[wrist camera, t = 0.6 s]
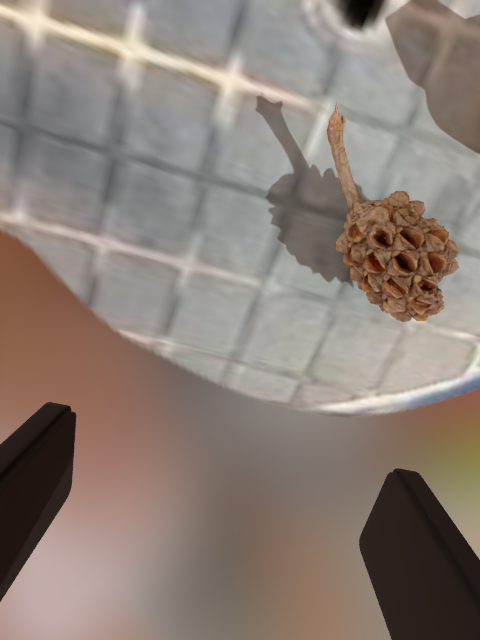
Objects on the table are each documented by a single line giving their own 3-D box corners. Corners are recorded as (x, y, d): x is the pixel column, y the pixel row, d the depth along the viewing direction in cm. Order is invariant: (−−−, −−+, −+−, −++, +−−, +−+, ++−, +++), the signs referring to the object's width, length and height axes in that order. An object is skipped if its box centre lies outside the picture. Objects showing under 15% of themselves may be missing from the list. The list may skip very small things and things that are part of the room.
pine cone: (442, 275, 37) (510, 293, 27) (370, 321, 39) (411, 353, 29) (345, 103, 32) (387, 51, 22) (268, 165, 34) (277, 141, 24)
